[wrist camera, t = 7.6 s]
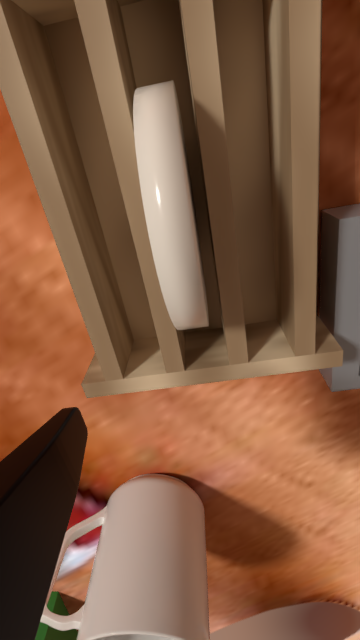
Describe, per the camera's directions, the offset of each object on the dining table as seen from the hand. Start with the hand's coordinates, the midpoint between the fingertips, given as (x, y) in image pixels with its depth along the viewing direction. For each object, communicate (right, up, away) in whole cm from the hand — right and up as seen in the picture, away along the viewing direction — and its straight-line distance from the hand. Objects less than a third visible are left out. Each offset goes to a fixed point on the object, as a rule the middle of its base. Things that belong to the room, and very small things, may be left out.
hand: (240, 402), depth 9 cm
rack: (-1, +9, +9) cm, 13 cm away
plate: (-2, +6, +5) cm, 8 cm away
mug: (-5, -14, +22) cm, 27 cm away
